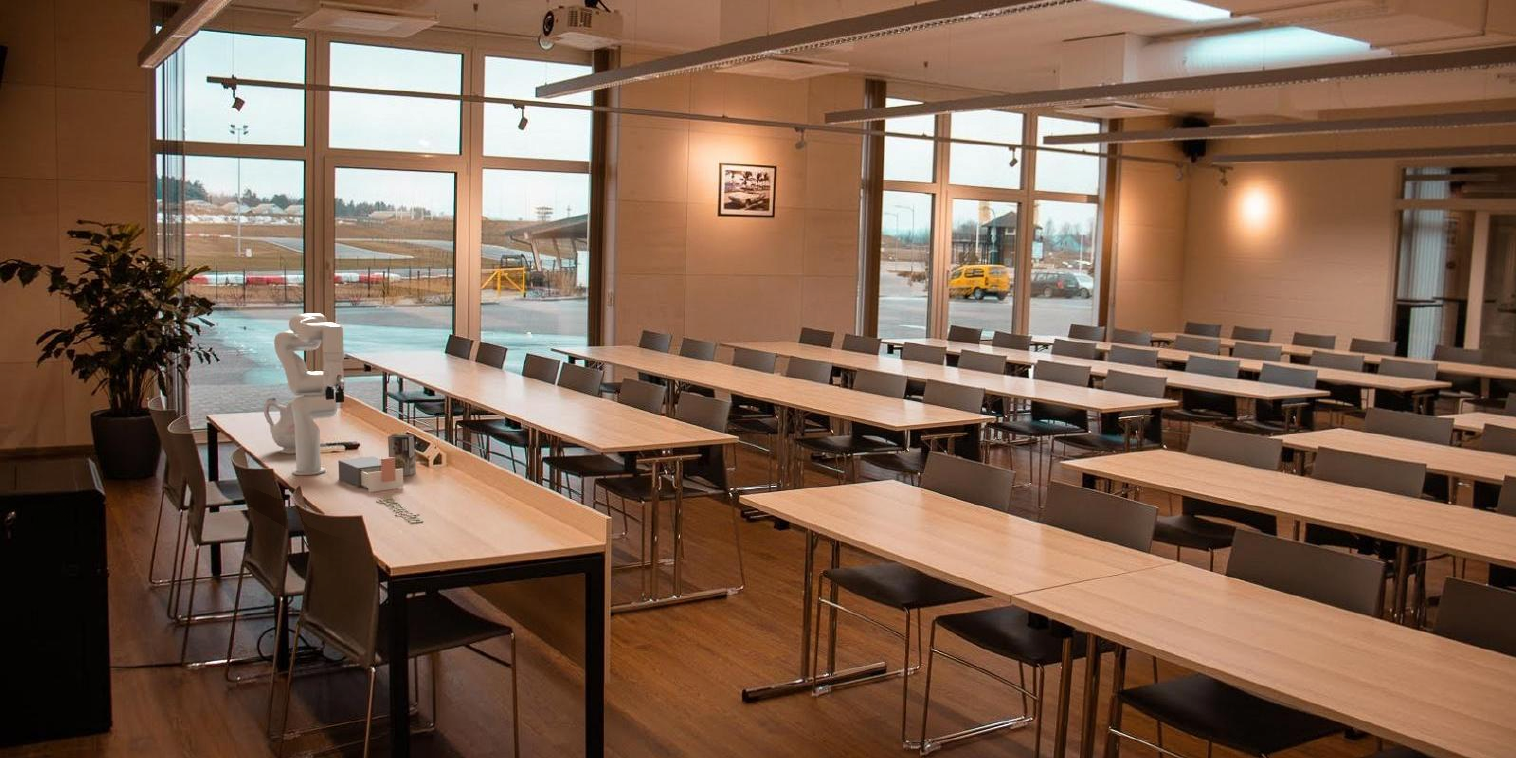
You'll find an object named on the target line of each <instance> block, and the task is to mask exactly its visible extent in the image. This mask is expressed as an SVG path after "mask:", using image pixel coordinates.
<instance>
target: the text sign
mask: <svg viewBox="0 0 1516 758" xmlns="http://www.w3.org/2000/svg"><path fill="white" fill-rule="evenodd" d="M375 502H376V503H377V504H379V505H385V506H386V507H388V506H389V508H388V509H390V508H393V509H391V510H393V511H392V512H396V513H394V514H395V515H394V517H398V516H397V515H401V516H406V517H402V519H403V518H405V519H404V521H405V520H408V521H407V523H409V524H410V523H416V524H419V523H418V522H425V521H424V520H423V519H420V517H419V516H420V513H415V514H413V512H408V511H410V510H409V509H408V508H406V507H404V505H401V504H400V503H399V502H398V501H396V500H395V499H393V498H384V499H382V498H381V499H376V500H375ZM396 506H400V507H396ZM401 508H403V509H401ZM395 509H398V510H395ZM403 510H406V511H403ZM398 511H401V512H398ZM405 512H407V513H405ZM397 513H398V514H397ZM402 513H403V514H402ZM407 514H412V515H407ZM416 515H419V516H416ZM401 516H400V517H401ZM412 516H415V517H412ZM407 518H415V519H407ZM410 521H416V522H410Z"/></svg>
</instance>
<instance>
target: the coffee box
mask: <svg viewBox="0 0 1516 758" xmlns="http://www.w3.org/2000/svg"><path fill="white" fill-rule="evenodd" d="M415 443H416V442H415V433H414V434H413V433H392V434H390V435H389V436H387V444H388V445H387V447H388V458H390V457H395V469H401V468H403V476H412V475H414V474H416V471H417V470H416V444H415Z"/></svg>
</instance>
